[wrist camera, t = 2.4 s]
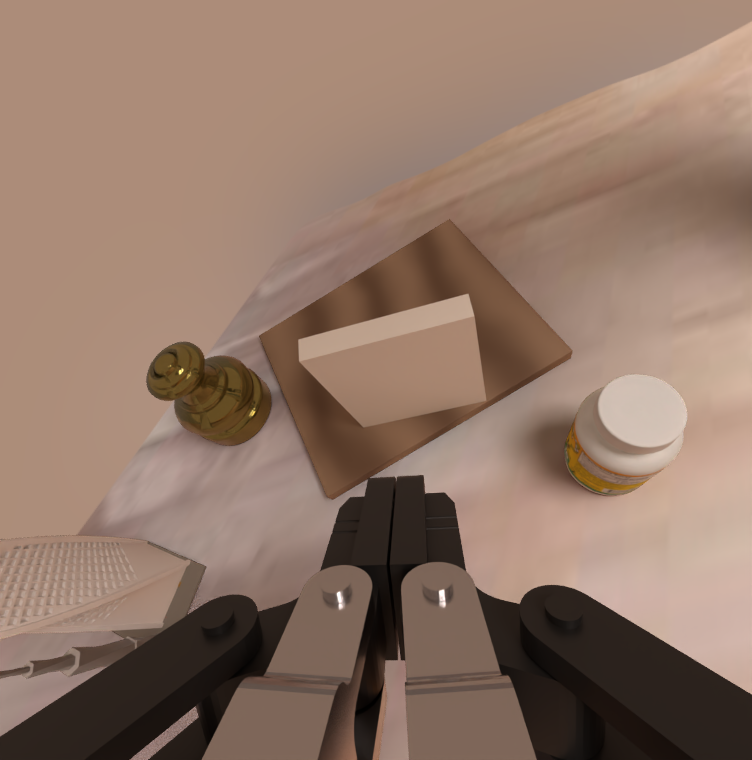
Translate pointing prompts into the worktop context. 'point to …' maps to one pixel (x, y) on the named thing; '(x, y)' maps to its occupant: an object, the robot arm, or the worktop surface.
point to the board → (389, 296)
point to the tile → (400, 362)
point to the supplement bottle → (625, 434)
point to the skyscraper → (91, 594)
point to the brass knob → (210, 393)
